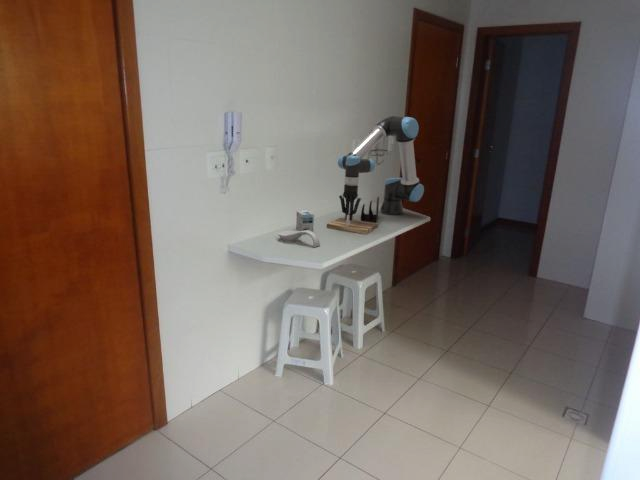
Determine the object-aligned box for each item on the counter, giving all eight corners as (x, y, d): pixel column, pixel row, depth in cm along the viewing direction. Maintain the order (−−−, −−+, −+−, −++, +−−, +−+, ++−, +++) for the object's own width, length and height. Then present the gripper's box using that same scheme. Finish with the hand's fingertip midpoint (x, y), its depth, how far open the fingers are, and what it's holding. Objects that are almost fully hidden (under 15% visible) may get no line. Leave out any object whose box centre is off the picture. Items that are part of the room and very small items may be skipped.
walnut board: (340, 220, 285) (340, 217, 284) (377, 226, 275) (378, 223, 274) (334, 223, 277) (334, 220, 276) (372, 230, 267) (372, 226, 266)
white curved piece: (273, 240, 240) (273, 226, 238) (287, 235, 249) (288, 222, 247) (310, 250, 227) (311, 235, 225) (324, 244, 236) (325, 231, 234)
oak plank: (333, 224, 276) (334, 220, 275) (372, 230, 266) (372, 227, 265) (326, 227, 267) (326, 223, 267) (365, 234, 257) (366, 230, 257)
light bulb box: (313, 233, 255) (314, 214, 252) (301, 234, 252) (302, 214, 249) (306, 228, 264) (307, 209, 261) (295, 228, 262) (296, 210, 259)
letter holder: (378, 216, 300) (379, 195, 296) (376, 224, 281) (378, 201, 277) (362, 215, 301) (364, 194, 297) (360, 222, 282) (361, 200, 278)
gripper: (337, 183, 258) (335, 225, 264) (359, 186, 252) (356, 228, 259) (343, 182, 264) (340, 222, 271) (364, 184, 259) (361, 226, 265)
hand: (348, 225), depth 265 cm, fingers closed
